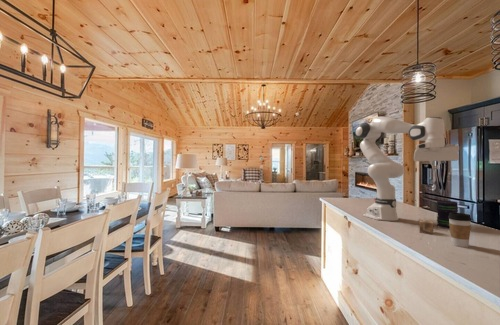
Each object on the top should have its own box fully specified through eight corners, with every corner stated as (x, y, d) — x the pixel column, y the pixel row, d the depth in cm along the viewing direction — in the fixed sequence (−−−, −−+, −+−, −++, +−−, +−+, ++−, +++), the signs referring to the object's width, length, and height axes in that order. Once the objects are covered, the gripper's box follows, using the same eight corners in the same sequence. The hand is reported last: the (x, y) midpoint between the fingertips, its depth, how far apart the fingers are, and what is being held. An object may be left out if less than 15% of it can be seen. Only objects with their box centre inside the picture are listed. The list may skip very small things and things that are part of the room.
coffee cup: (454, 247, 109) (453, 214, 109) (444, 241, 117) (444, 211, 117) (476, 249, 106) (476, 215, 106) (465, 242, 114) (465, 211, 114)
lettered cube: (419, 232, 132) (419, 221, 132) (420, 230, 137) (419, 219, 137) (433, 234, 128) (432, 223, 128) (433, 231, 133) (432, 220, 133)
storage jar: (462, 229, 137) (462, 203, 137) (443, 228, 139) (442, 203, 139) (451, 224, 147) (450, 200, 147) (433, 224, 149) (433, 200, 149)
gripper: (458, 144, 131) (459, 168, 131) (413, 146, 144) (414, 168, 144) (459, 143, 126) (460, 169, 126) (413, 145, 139) (413, 169, 139)
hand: (435, 169), depth 135 cm, fingers closed
